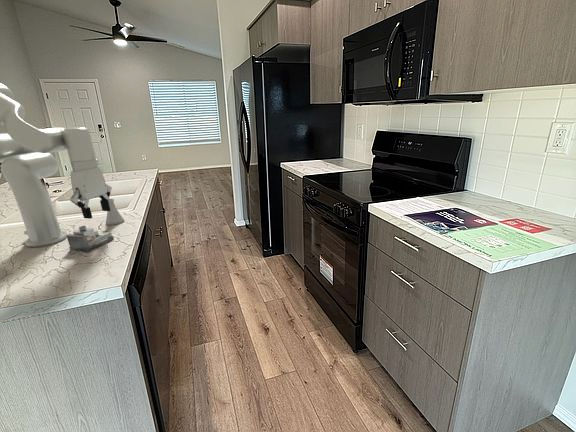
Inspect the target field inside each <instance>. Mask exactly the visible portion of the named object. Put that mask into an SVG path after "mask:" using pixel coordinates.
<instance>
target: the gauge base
mask: <svg viewBox="0 0 576 432" xmlns="http://www.w3.org/2000/svg"><path fill="white" fill-rule="evenodd" d="M94 233H95V236H96V238H95V239H93V240H91V241H89V242H88V241H87V237H86V236H84V235H74V234H73V233H69V234H67V235H66V236H67V237H66V238H67V242H68V245H69V247H68V248H69V251H73V252H80V251H81V253H90V252H93V251H95V249H98V248H99V247H102V246H104V245H106V244H107V243H110V242H111V241H114V239H115V238H114V236H113V235H112V231H108V232H106V233H105V234H99V231H98V230H94Z"/></svg>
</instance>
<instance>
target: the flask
mask: <svg viewBox="0 0 576 432" xmlns="http://www.w3.org/2000/svg"><path fill="white" fill-rule="evenodd" d="M108 202H109V206H110V211H106V218H105V219H106V220H105V225H107V226H114V225H118V224H121V223H123V222H125V219H124V217H123V216H122V214H121V213H120V211H119V210H118V208H117V206H116V204H115V199H114V198H109V200H108Z"/></svg>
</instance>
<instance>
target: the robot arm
mask: <svg viewBox="0 0 576 432" xmlns="http://www.w3.org/2000/svg"><path fill="white" fill-rule="evenodd" d="M25 117H26V109H25V107H24V106H23V105H22V104H20V103H19V102H18V101H16V100H15V96H14V93H13V92H12V90H11V89H10V88H9V87H7V86H6V85H4V84H3V83H1V82H0V124H1V125H3V128H4V130H5V132H1V133H0V164H1V165H0V166H1V167H0V170H1V174H2V177H4V179H5V180H6V182H7V184H8V186H9V187H10V189H11V191H12V195H13V196H14V199H15V202H16V203H17V204H16V205H17V207H18V210H19V213H20V216H21V219H22V221H23V224H24V227H25V229H26V230H24V232H23V234H24V235H27V236H28V237H27V239H26V240H25V241H24V242H25V246H26V247H30V248H38V247H39V248H40V247H44V246H49V245H52V244H53V245H54V244H56V243H59V242H61V241H63V240H65V239H66V238H67V236H66V235H68V233H67V232H66V231H64V230H61V227H60V223H59V221H58V218H57V213H56V211H55V208H54V205H53V202H52V198H51V195H50V192H49V190H48V188H47V187H46V186H45V184H44V183H43V182H42V181H41V180H42V179H45V178H48V177H51V176H54V175H56V173H58V170H59V162H58V160H57V158H56V157H55V156H54V155H53V154H52V153H56V152H60V151H61V152H62V151H67V153H68V158H69V163H70V164H71V168H72V171H70V183H71V184H70V185H71V188H72V189H71V190H72V195H71V197H70V199H69V201H70V202H71V203H72V204H74V205H75V206H77V207H78V208H79V209H80V210H81V213H82V216H83V218H84V219H93V215H92V211H91V207H88V206H89V203H90V200H92V199H95V198H99V199H100V200H99V203H100V207H101V209H102V211H104V212H107V211H110V206H109V202H108V200H109V199H110V196H111V193H112V189H113V187H112V186H110V185H108V184H107V183H106V182H107V181H106V180H105V177H104V174H103V172H102V170H101V167H100V166H99V164H98V163H99V160H98V159H97V156H96V152H95V148H94V143H93V139H92V136H91V132H90V130H89V129H88V128H86V127H84V126H83V127H82V126H81V127H80V126H79V127H62V126H61V127H57V126H55V127H48V128H47V127H46V128H37V127H35V126H33V125H31V124H30V123H27V122H26V121H25V120H24V119H25Z"/></svg>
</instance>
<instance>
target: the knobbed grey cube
mask: <svg viewBox="0 0 576 432" xmlns="http://www.w3.org/2000/svg"><path fill="white" fill-rule="evenodd" d="M94 232H95V230H94V228H93V227H87V226H86V225H81V226H79V227H78V229H76V230H73V231H72V234H74V235H84V236H86V237H87V241H88V242H89V241H91V240H93V239H95V238H96V236H95V233H94Z"/></svg>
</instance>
